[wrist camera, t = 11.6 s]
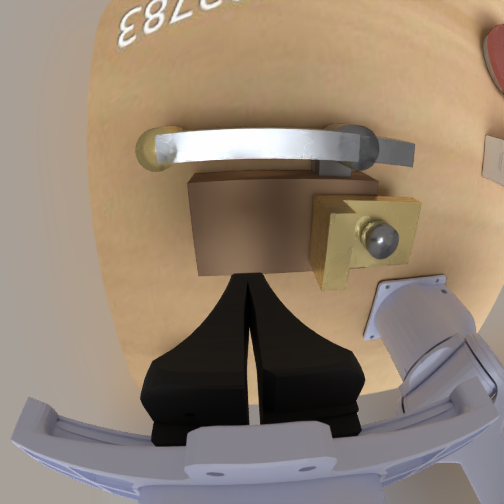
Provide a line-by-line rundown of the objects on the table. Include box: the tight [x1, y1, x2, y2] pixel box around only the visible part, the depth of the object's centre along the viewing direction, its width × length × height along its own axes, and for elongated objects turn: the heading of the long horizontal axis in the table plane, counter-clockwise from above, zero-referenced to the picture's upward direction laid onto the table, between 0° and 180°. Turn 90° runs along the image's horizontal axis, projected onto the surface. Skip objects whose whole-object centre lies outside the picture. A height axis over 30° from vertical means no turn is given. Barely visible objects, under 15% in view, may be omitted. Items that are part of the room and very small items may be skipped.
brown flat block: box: [187, 128, 379, 276], centre depth 19 cm, size 13×10×3 cm
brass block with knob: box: [309, 195, 421, 291], centre depth 17 cm, size 8×5×4 cm, turn 91°
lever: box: [136, 123, 415, 172], centre depth 15 cm, size 3×16×4 cm, turn 90°
